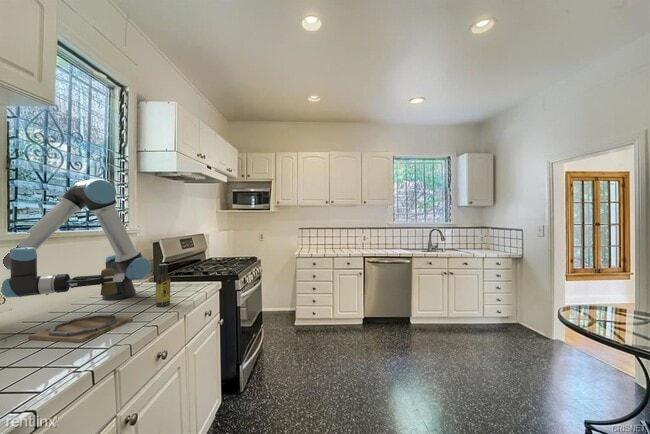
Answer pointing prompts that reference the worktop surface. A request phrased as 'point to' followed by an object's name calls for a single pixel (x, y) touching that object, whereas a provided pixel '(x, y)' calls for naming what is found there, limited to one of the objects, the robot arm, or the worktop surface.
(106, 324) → the steel ring
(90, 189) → the robot arm
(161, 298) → the sauce bottle
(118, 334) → the worktop surface
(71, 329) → the walnut board
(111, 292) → the cork
